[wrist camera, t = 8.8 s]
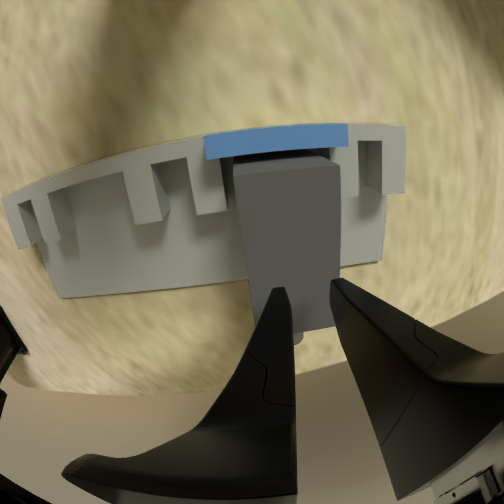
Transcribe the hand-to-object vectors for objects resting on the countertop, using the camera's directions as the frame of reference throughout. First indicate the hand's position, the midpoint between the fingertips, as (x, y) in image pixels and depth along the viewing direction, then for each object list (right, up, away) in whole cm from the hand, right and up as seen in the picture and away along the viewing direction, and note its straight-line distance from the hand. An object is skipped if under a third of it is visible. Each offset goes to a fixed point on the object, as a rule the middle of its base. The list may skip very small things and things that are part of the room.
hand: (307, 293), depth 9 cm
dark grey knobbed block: (0, +2, +7) cm, 8 cm away
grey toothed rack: (-5, +3, +7) cm, 9 cm away
